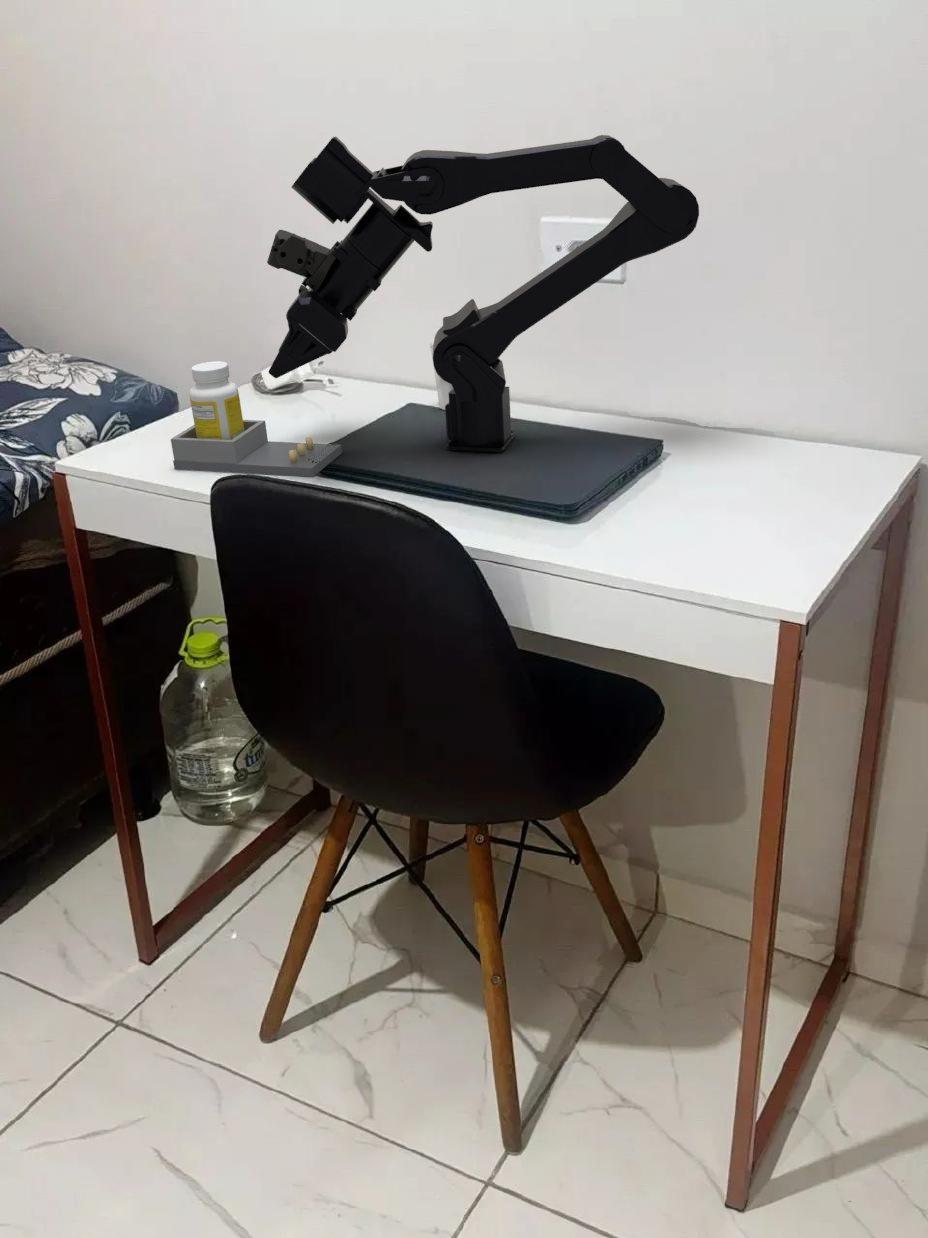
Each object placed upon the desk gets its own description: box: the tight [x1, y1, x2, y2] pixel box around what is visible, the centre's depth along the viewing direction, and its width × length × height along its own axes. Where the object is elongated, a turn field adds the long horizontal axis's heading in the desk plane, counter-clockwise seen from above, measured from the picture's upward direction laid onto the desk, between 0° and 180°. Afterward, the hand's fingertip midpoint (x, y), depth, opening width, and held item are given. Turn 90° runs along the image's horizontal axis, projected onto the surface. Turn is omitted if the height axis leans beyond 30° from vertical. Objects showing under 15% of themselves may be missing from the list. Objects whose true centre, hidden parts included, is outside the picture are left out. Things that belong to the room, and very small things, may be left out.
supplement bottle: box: [189, 360, 244, 440], centre depth 132 cm, size 5×5×10 cm
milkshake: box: [429, 336, 453, 411], centre depth 146 cm, size 4×5×10 cm
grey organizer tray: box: [170, 419, 343, 478], centre depth 133 cm, size 17×8×4 cm, turn 73°
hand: (277, 364), depth 130 cm, fingers open, 9 cm apart
